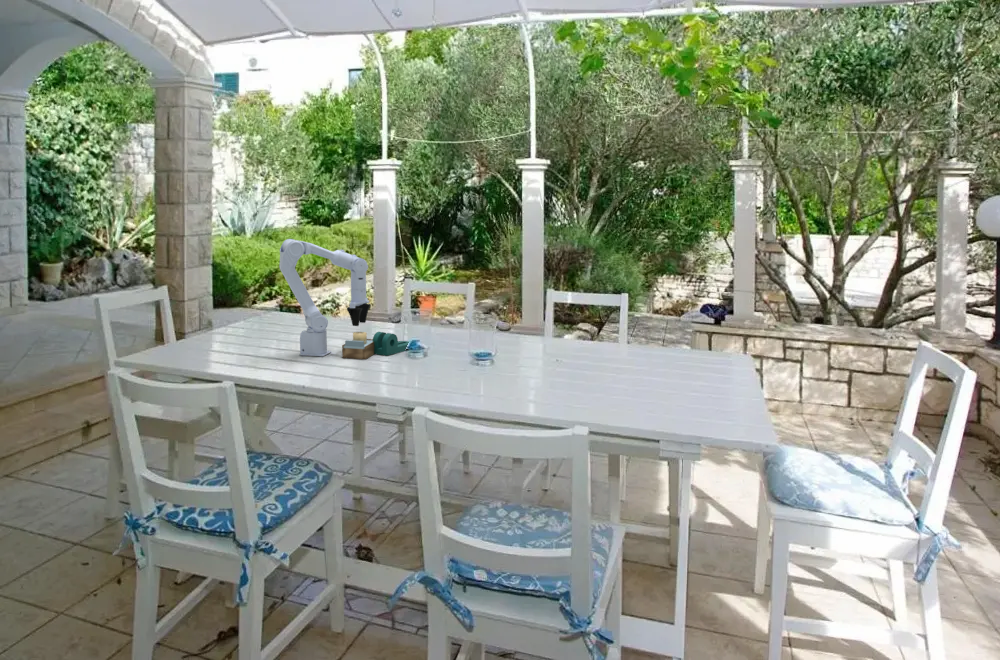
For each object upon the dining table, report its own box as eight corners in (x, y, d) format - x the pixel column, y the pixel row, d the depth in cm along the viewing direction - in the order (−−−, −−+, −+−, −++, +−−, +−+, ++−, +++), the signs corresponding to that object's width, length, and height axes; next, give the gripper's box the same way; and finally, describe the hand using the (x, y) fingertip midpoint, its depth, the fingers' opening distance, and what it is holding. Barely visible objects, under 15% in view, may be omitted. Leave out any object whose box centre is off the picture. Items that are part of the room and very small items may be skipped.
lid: (343, 347, 273) (343, 340, 273) (356, 341, 286) (356, 334, 285) (364, 349, 272) (363, 341, 271) (375, 342, 284) (375, 335, 284)
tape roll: (350, 344, 276) (350, 333, 276) (356, 341, 281) (356, 331, 280) (363, 344, 275) (363, 333, 275) (368, 342, 280) (368, 331, 279)
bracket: (386, 355, 279) (386, 335, 277) (372, 353, 282) (372, 333, 280) (415, 348, 294) (415, 328, 293) (401, 345, 297) (401, 326, 296)
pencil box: (342, 358, 274) (342, 345, 273) (355, 350, 287) (355, 338, 287) (365, 359, 272) (365, 346, 272) (378, 351, 286) (378, 339, 285)
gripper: (362, 291, 275) (362, 327, 278) (374, 287, 289) (375, 321, 292) (343, 291, 276) (344, 327, 279) (357, 286, 290) (358, 320, 293)
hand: (359, 324), depth 285 cm, fingers open, 7 cm apart
